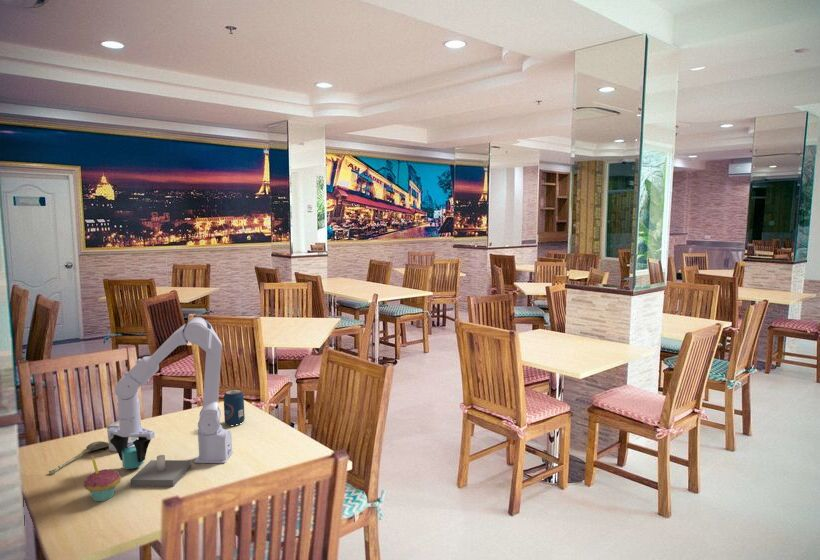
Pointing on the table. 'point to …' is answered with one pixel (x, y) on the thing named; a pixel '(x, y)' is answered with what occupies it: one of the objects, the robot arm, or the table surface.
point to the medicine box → (111, 447)
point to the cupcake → (102, 483)
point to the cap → (130, 458)
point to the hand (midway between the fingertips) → (132, 459)
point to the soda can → (234, 407)
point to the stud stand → (161, 473)
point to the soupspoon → (89, 448)
